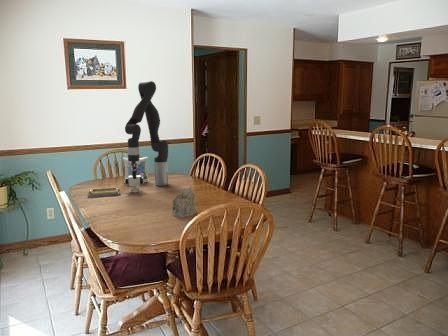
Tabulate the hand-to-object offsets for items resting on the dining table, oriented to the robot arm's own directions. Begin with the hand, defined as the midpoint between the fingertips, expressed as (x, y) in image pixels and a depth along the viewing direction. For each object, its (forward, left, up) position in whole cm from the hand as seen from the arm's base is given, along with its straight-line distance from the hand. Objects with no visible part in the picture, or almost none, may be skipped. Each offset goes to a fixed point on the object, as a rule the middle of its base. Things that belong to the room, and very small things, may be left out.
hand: (134, 177), depth 257 cm
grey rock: (-22, +56, -10) cm, 61 cm away
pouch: (-3, -29, -10) cm, 31 cm away
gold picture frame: (+20, 0, -10) cm, 22 cm away
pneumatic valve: (0, 0, -10) cm, 10 cm away
